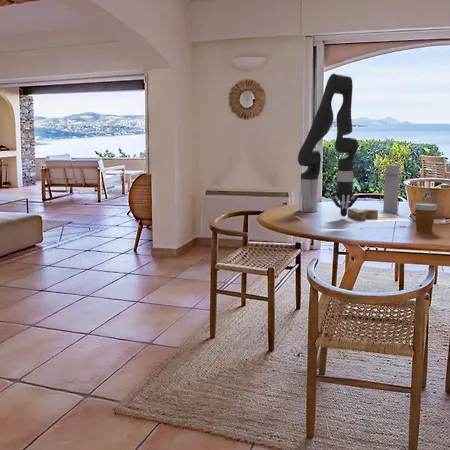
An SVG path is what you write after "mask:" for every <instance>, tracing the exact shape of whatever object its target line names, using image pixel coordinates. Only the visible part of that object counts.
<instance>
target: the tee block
mask: <svg viewBox="0 0 450 450" xmlns="http://www.w3.org/2000/svg"><path fill="white" fill-rule="evenodd" d="M378 214H379V210H377V209H376V208H371V209H367V208H364V209H358V208H356V207H355V208H352V207H349V208H348V209H347V215H348V217H350V218H352V219H354V220H357V221H365V220H366V219H378Z"/></svg>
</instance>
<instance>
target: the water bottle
mask: <svg viewBox="0 0 450 450" xmlns="http://www.w3.org/2000/svg"><path fill="white" fill-rule="evenodd" d="M384 169H385V171H384V174H383V175H382V176H383V179H382V180H384V183H382V185H381V186H382V188H381V189H380V190H381V191H380V192H382V190H383V194H380V196H379V198H381V196H382V201H381V200H379V201H380V202H379V203H380V204H382V203H383V208H382V209H383V210H382V211H385V212H389V213H390V214H396V213H398V208H399V207H398V206H399V205H398V204H399V188H400V172H401V171H400V165H399V164H386V165H385V168H384Z"/></svg>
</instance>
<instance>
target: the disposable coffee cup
mask: <svg viewBox="0 0 450 450" xmlns="http://www.w3.org/2000/svg"><path fill="white" fill-rule="evenodd" d="M413 207H414V214H415V227H416V228H415V229H416V230H415V231H416V232H419V233H432V231H433V227H434V221H435V216H436V212H437V209H438V207H437V204H436V203H433V202H415V204H414V206H413Z"/></svg>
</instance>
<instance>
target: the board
mask: <svg viewBox="0 0 450 450" xmlns="http://www.w3.org/2000/svg"><path fill="white" fill-rule="evenodd" d="M338 216H339V217H341V218H343V219H346V220H348V221H350V222H352V223H354V224H355V223H381V222H383V223H384V222H410V221H411V220H410V219H407V218H404V217H401V216H398V215H395V214H394V213H378V219H366V220H365V221H357V220H354V219H352V218H350V217H348V214H347V215H346V217H343V216H341V214H340V215H338Z"/></svg>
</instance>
